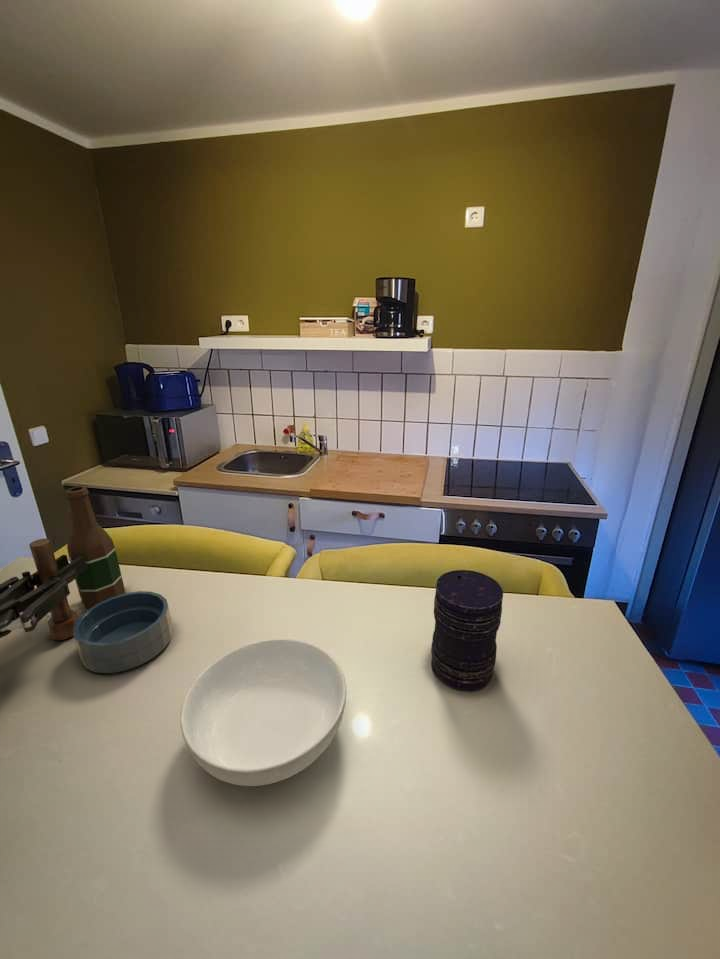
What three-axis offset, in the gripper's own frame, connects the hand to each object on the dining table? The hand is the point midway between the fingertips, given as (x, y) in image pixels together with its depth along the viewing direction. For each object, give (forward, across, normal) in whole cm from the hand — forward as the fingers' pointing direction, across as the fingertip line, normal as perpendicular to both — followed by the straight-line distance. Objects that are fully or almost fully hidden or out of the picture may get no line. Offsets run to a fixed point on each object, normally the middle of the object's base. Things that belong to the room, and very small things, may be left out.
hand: (74, 562), depth 78 cm
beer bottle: (+4, 0, -12) cm, 12 cm away
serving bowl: (-20, +43, -12) cm, 48 cm away
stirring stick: (-5, 0, -11) cm, 12 cm away
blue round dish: (-7, +13, -11) cm, 19 cm away
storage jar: (-5, +69, -12) cm, 70 cm away
